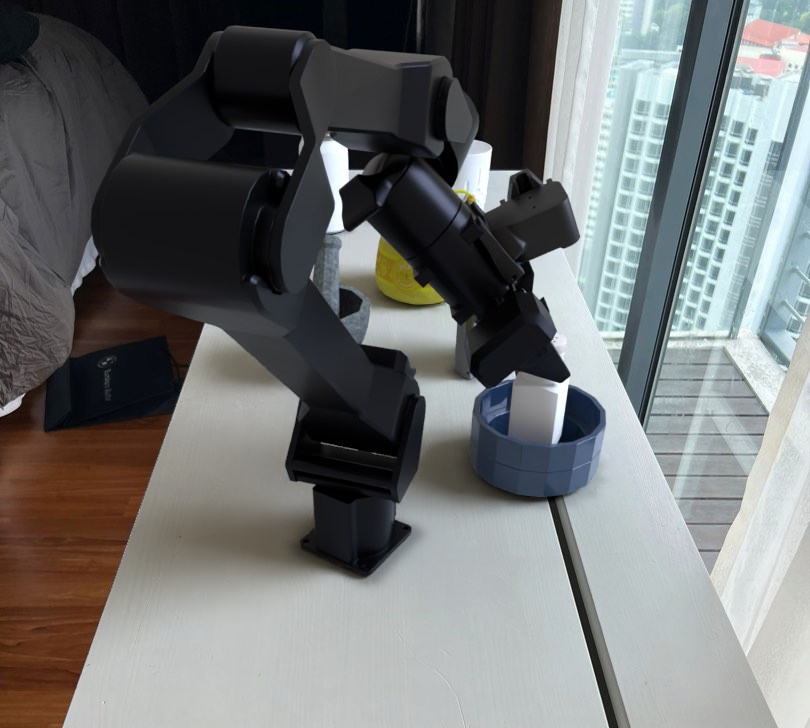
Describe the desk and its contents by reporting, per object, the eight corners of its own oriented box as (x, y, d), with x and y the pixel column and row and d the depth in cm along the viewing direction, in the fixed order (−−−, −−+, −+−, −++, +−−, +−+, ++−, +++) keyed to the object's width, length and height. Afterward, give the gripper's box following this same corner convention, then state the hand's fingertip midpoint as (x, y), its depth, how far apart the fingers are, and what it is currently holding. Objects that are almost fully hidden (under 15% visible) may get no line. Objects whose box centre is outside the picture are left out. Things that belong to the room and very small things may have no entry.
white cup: (424, 226, 118) (427, 151, 112) (439, 209, 124) (442, 136, 118) (479, 233, 117) (485, 157, 110) (491, 215, 123) (497, 142, 116)
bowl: (564, 518, 68) (574, 462, 64) (446, 475, 72) (449, 420, 69) (613, 454, 75) (625, 400, 72) (503, 418, 80) (509, 366, 76)
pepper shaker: (517, 429, 74) (528, 325, 68) (561, 438, 73) (576, 333, 67) (504, 450, 71) (515, 343, 65) (551, 459, 70) (566, 351, 64)
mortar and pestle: (361, 393, 83) (359, 274, 75) (268, 386, 83) (256, 268, 76) (376, 341, 91) (376, 230, 84) (291, 335, 92) (283, 225, 84)
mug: (361, 303, 99) (360, 198, 91) (392, 269, 107) (393, 169, 99) (466, 320, 96) (474, 213, 88) (490, 283, 104) (499, 182, 96)
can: (296, 221, 118) (290, 129, 111) (339, 216, 121) (336, 125, 113) (312, 237, 114) (307, 142, 106) (356, 231, 116) (355, 137, 108)
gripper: (542, 187, 50) (682, 358, 57) (501, 111, 64) (617, 255, 71) (405, 312, 54) (551, 455, 62) (396, 215, 69) (515, 340, 76)
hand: (561, 368), depth 68 cm, fingers closed on pepper shaker, 3 cm apart
